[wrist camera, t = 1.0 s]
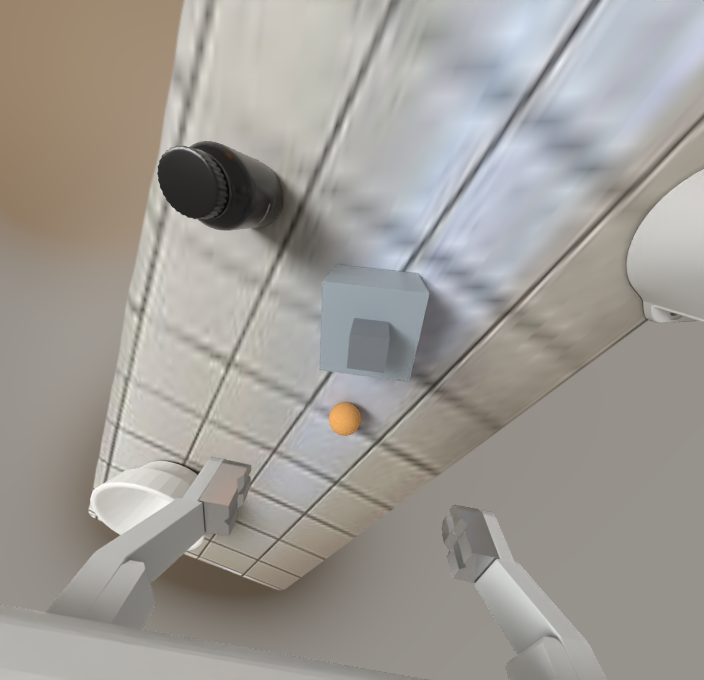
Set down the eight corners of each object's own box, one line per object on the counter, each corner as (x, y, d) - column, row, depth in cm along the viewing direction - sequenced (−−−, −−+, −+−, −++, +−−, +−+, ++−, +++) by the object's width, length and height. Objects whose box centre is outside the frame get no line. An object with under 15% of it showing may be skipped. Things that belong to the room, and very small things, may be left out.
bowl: (212, 522, 64) (190, 563, 57) (123, 486, 61) (87, 525, 54) (239, 475, 54) (216, 517, 47) (134, 429, 51) (92, 466, 44)
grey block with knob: (418, 273, 32) (437, 307, 21) (403, 345, 37) (413, 405, 25) (336, 264, 33) (312, 293, 21) (332, 336, 37) (310, 391, 26)
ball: (363, 398, 42) (361, 420, 37) (360, 421, 44) (357, 444, 39) (332, 394, 42) (327, 415, 37) (331, 417, 44) (325, 440, 40)
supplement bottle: (284, 231, 31) (234, 241, 21) (229, 221, 32) (152, 227, 21) (286, 164, 28) (228, 136, 18) (225, 154, 28) (132, 120, 18)
